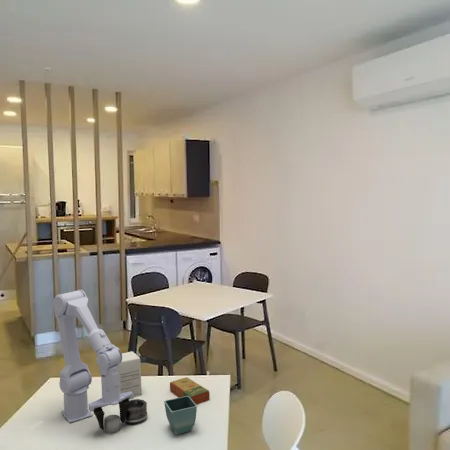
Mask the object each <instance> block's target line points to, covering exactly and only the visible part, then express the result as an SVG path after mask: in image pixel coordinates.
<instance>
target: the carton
mask: <svg viewBox="0 0 450 450" xmlns="http://www.w3.org/2000/svg"><path fill="white" fill-rule="evenodd" d="M169 392H170V393H172V394H173V395H174V396H175V397H176V398H180V397H184V396H189V397H190V398H191V399H192V400H193V402H194V403H195V404H196V405H197V406H198V405H200V404H203V403H206V402H208V401H210V397H211V396H210V390H209V389H207V388H205V387H203V386H202V385H201V384H199V383H197V382H195V381H194V380H192V379H191V378H189V377H187V376H186V377H183V378H179V379H176V380H173V381H171V382H169Z"/></svg>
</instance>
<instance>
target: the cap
mask: <svg viewBox="0 0 450 450" xmlns="http://www.w3.org/2000/svg"><path fill="white" fill-rule="evenodd" d="M120 431H121V421H120V415H118V414H109V415H107V416H104V433H105V434H107V435H112V434H117V433H119V432H120Z"/></svg>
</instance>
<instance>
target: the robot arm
mask: <svg viewBox="0 0 450 450" xmlns="http://www.w3.org/2000/svg"><path fill="white" fill-rule="evenodd" d="M52 306H53V311H54V316H55V319H56V320H57V326H58V331H59V336H60V342H61V348H62V353H63V359H64V363H65V365H64V366H63V368H62V369H61V371H59V389H60V390H61V393H63V409H64V410H62V411H61V414H62V415H63V417H64V418H65V419H66V420H67V421H68V423H74V422H77V421H80V420H83V419H86V418H89V417H92V416H93V414H94V416H95V418H96V420H97V423H98V427H99V429H100V430H101V431H105V428H104V418H105V411H104V409H103V408H105V407H108V406H116V405H118V408H119V417H120V423H122V424H125V418H126V414H127V411H128V409H129V407H130V405H131V402H130V400H134V397H133V393H132V392H125V393H120V384H119V364H120V363H121V361H122V352H121V349H120V348H119V347H117V346H115V344H112V342H111V340H110V339H109V337H108V336H107V334H106V332H105V331H104V329H101V328H99V327H98V325H97V323H96V321H95V319H94V317H93V314H92V313H91V310H90V309H89V307H88V306H89V298H88V296H87V294H86V292H85V291H84V290H82V289H77V290H74V291H70V292H65V293H59V294H57V295H55V297H54V299H53V300H52ZM75 317H76V318H77V320H78V321H79V323H81V325H82V326H83V328H84V330H85V331H86V332H87V334H88V336H87V341H88V342H89V344H90V346H91V348H92V349H93V351H94V353H95V355H96V359H95V361H96V364H97V365H96V366H97V367H98V370H99V371H98V372H99V375H100V376H101V377H100V378H101V398H99V399H97V400H95V401H92V402H90V403H88V401H89V400H88V389H89V387H90V385H91V384H92V380H93V376H92V373H91V371H90V369H89V366H88V364H87V363H85V362H83V361H82V359H81V353H80V347H79V343H78V337H77V331H76V326H75V321H74V318H75ZM92 412H93V414H92Z"/></svg>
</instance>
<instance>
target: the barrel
mask: <svg viewBox="0 0 450 450" xmlns="http://www.w3.org/2000/svg"><path fill="white" fill-rule="evenodd" d="M129 401H130V402H131V405H130V407H129V409H128V411H127V414H126V418H125V423H124V424H125V425H130V426H137V425H140V424H142V423H144V422H145V421H147V420H148V410H147V409H148V408H147V407H148V406H147V404H148V402H147V401H145V400H144V399H141V398H140V399H139V398H137V399H134V398H133V399H129Z"/></svg>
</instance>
